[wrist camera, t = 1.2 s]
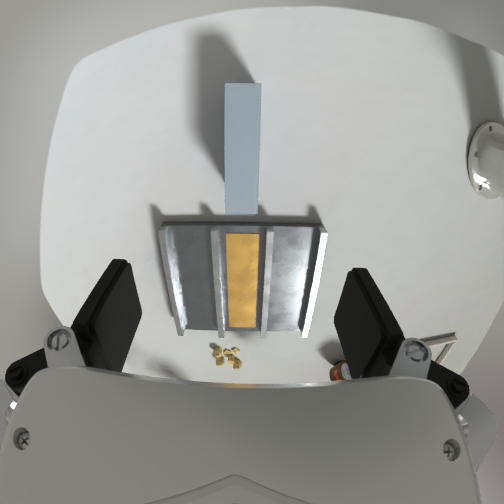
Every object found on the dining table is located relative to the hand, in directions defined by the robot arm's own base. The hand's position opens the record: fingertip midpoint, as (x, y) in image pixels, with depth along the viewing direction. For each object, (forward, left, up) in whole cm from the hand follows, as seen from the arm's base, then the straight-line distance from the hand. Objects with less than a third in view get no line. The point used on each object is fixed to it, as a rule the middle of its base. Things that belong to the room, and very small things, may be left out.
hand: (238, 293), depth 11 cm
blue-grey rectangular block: (0, -3, -22) cm, 22 cm away
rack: (0, +16, -22) cm, 27 cm away
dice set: (+3, +33, -23) cm, 40 cm away
